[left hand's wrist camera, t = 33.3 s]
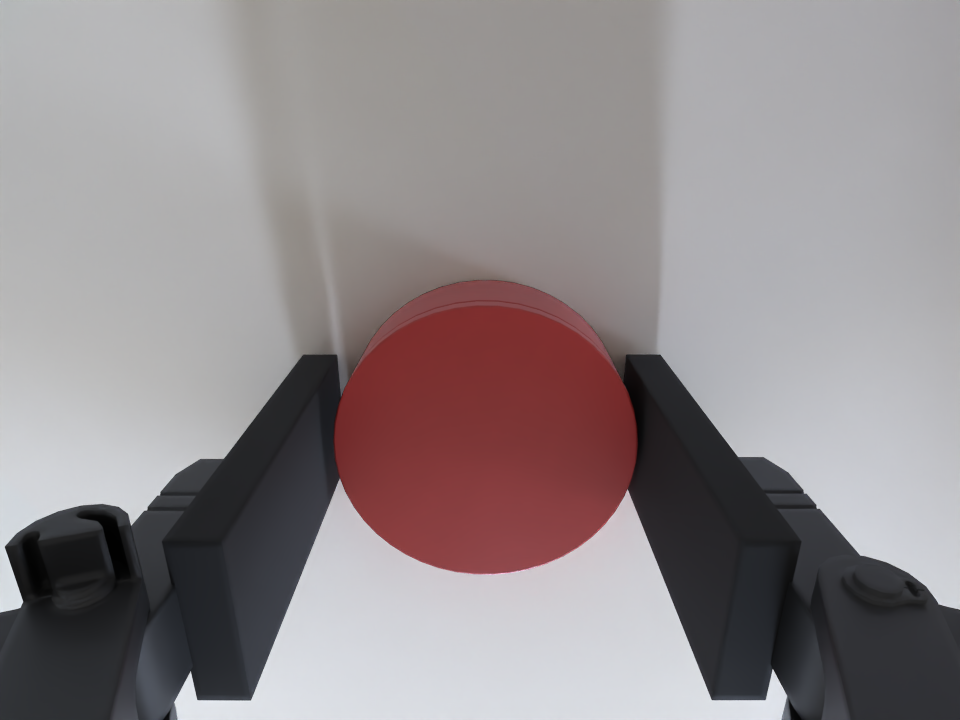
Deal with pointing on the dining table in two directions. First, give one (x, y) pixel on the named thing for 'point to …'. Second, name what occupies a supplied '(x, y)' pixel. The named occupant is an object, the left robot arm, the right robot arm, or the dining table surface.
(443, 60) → the dining table surface
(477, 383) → the lid
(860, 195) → the dining table surface
